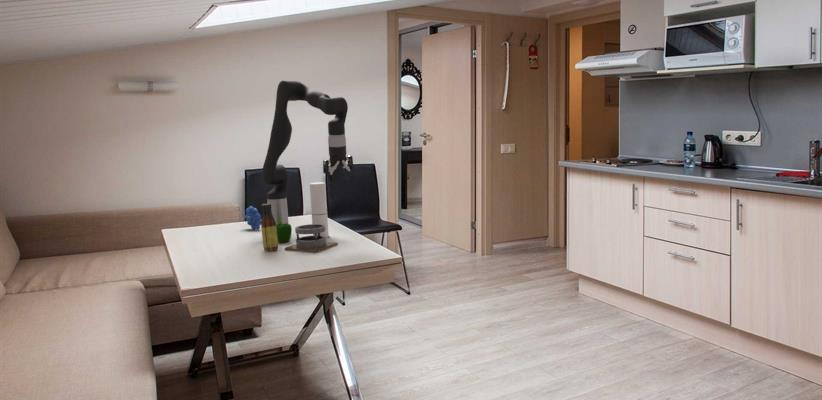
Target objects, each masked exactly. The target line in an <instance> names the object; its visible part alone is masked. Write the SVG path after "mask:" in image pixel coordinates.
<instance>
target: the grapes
mask: <svg viewBox="0 0 822 400" xmlns="http://www.w3.org/2000/svg"><path fill="white" fill-rule="evenodd" d="M245 213H246V214H245V215H244V216H245V217H244V218H245V219H246V223H247V225H248V226H250V228H251V229H252V230H260V228H261V219H262V215H261V214H260V213H259V209H257V208H256V207H254V206H252V205H249V206H248V207H247V208H246V209H245Z"/></svg>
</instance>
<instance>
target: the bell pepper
mask: <svg viewBox="0 0 822 400" xmlns="http://www.w3.org/2000/svg"><path fill="white" fill-rule="evenodd" d="M277 222H280V224H277V225H276V228H277V237H278V243H287V242H290V240H291V238H292V229H293V228H292V225H291V224H290V223H289V224H287V223H285V224H282V221H281V220H277Z"/></svg>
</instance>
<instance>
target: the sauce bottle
mask: <svg viewBox="0 0 822 400" xmlns="http://www.w3.org/2000/svg"><path fill="white" fill-rule="evenodd" d="M260 206H261V210H262V216H261V218H260V220H261V225H260V228H261V236H262V237H261V238H262V244H263V246H262V247H263V250H264V252H274V251H277V250H279V242H278V237H277V228H276V222H275V220H274V217H273V215H272V211H271V204H267V203H262V204H261V205H260Z"/></svg>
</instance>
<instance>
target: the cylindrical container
mask: <svg viewBox="0 0 822 400" xmlns="http://www.w3.org/2000/svg"><path fill="white" fill-rule="evenodd" d="M326 187H327V186H326V182H321V181H317V182H310V183H309V192H310V193H309V194H310V208H311V209H310V210H311V212H310V213H311V224H322V225H325V228H326V230H325V232H322V233H320V236H325V237H326V238H328V237H329V236H330V234H329V223H328V222H329V221H328V219H329V218H328V207H327V206H328V205H327V204H328V203H327V190H326ZM314 235H315V234H312V236H314ZM317 235H318V233H317Z"/></svg>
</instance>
